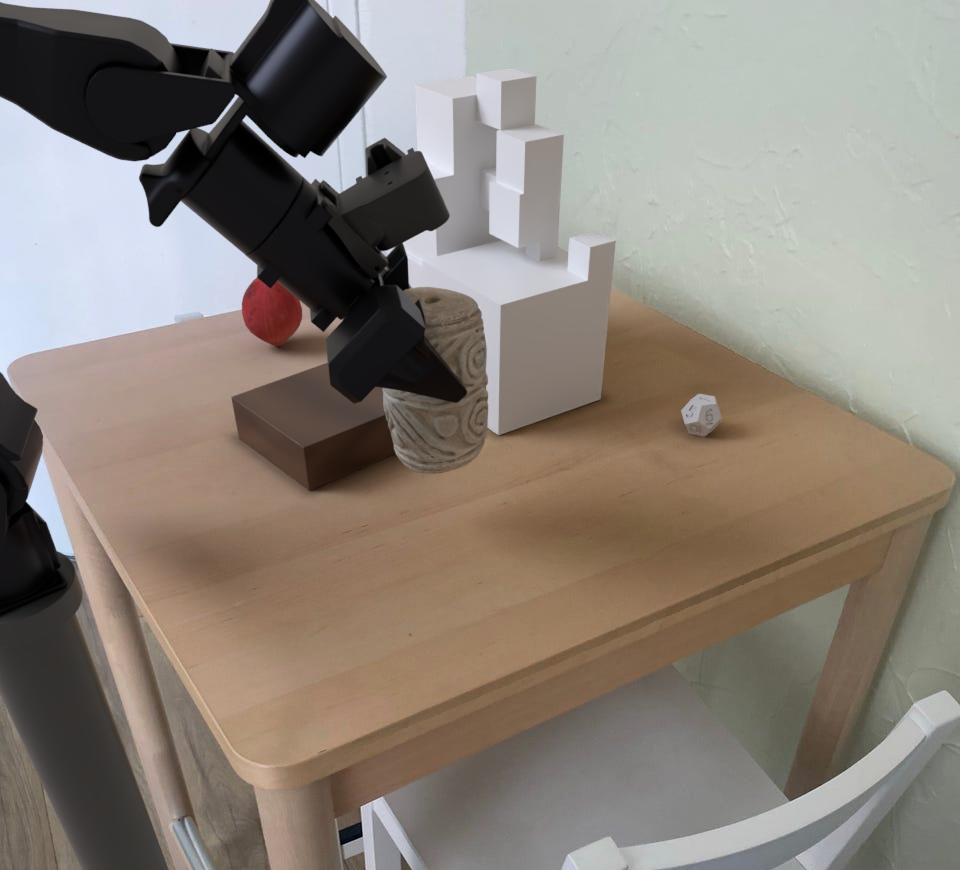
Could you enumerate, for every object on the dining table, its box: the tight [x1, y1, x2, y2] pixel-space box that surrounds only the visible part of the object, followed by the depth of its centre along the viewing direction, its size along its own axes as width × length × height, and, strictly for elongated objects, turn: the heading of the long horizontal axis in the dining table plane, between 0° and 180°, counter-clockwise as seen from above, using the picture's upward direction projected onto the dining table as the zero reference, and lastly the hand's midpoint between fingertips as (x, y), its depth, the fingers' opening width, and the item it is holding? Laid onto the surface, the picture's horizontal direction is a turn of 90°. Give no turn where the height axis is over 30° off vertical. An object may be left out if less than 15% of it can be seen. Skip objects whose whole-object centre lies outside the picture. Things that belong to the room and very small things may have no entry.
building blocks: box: [385, 67, 617, 436], centre depth 85 cm, size 22×12×25 cm, turn 35°
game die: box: [680, 393, 723, 438], centre depth 84 cm, size 4×4×3 cm
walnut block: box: [231, 362, 396, 491], centre depth 82 cm, size 11×11×4 cm
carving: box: [383, 287, 489, 475], centre depth 66 cm, size 6×8×12 cm
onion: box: [241, 277, 303, 348], centre depth 95 cm, size 6×6×8 cm
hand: (455, 375), depth 66 cm, fingers closed on carving, 6 cm apart
